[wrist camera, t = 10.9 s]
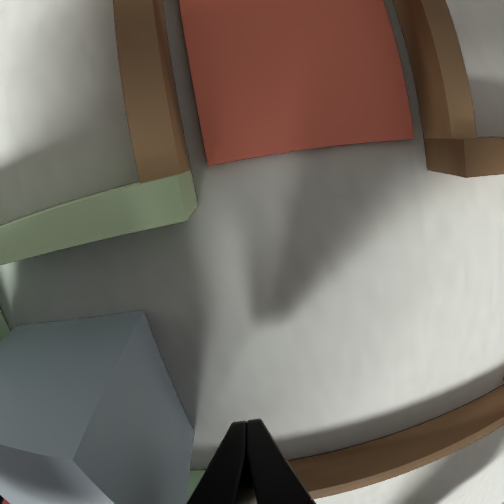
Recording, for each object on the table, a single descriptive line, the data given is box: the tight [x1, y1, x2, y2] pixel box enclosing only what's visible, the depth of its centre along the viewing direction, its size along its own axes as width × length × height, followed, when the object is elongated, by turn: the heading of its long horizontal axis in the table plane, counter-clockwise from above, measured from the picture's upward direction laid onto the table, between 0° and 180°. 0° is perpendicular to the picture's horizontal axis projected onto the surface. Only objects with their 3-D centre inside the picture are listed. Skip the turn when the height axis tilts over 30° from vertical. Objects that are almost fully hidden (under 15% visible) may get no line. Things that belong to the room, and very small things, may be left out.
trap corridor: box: [0, 0, 504, 501], centre depth 8 cm, size 22×29×2 cm
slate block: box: [0, 310, 194, 504], centre depth 8 cm, size 6×6×6 cm
